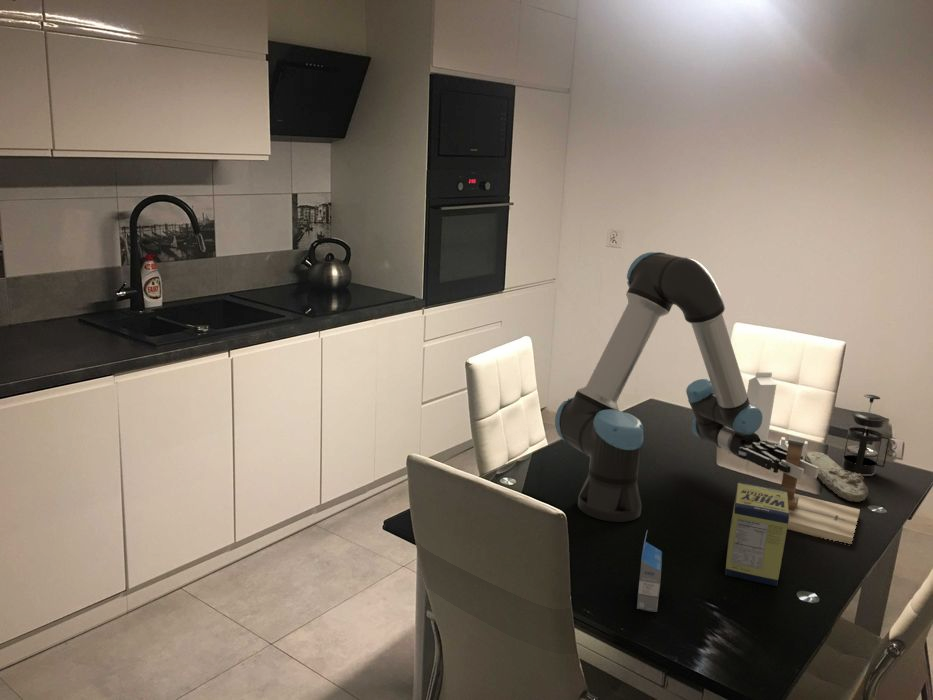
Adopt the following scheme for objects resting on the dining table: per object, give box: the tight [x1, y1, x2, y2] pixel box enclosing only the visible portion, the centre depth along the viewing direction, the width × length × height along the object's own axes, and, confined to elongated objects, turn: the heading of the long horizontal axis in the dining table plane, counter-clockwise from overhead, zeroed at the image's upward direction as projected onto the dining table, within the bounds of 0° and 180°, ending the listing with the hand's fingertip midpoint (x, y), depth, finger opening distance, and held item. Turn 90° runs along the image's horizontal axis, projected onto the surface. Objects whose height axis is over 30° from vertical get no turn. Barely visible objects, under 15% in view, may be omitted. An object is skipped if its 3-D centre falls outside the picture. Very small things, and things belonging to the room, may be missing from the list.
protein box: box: [724, 481, 789, 587], centre depth 169 cm, size 10×16×16 cm
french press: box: [840, 394, 891, 474], centre depth 231 cm, size 12×9×23 cm
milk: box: [746, 371, 777, 442], centre depth 255 cm, size 6×6×22 cm
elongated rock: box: [805, 451, 869, 503], centre depth 225 cm, size 35×5×10 cm
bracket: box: [778, 436, 809, 461], centre depth 240 cm, size 13×7×8 cm, turn 158°
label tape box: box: [636, 529, 663, 613], centre depth 152 cm, size 9×4×12 cm, turn 164°
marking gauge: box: [780, 436, 806, 510], centre depth 197 cm, size 5×5×17 cm
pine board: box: [787, 493, 861, 545], centre depth 197 cm, size 20×21×2 cm
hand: (809, 473), depth 192 cm, fingers closed on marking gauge, 4 cm apart
